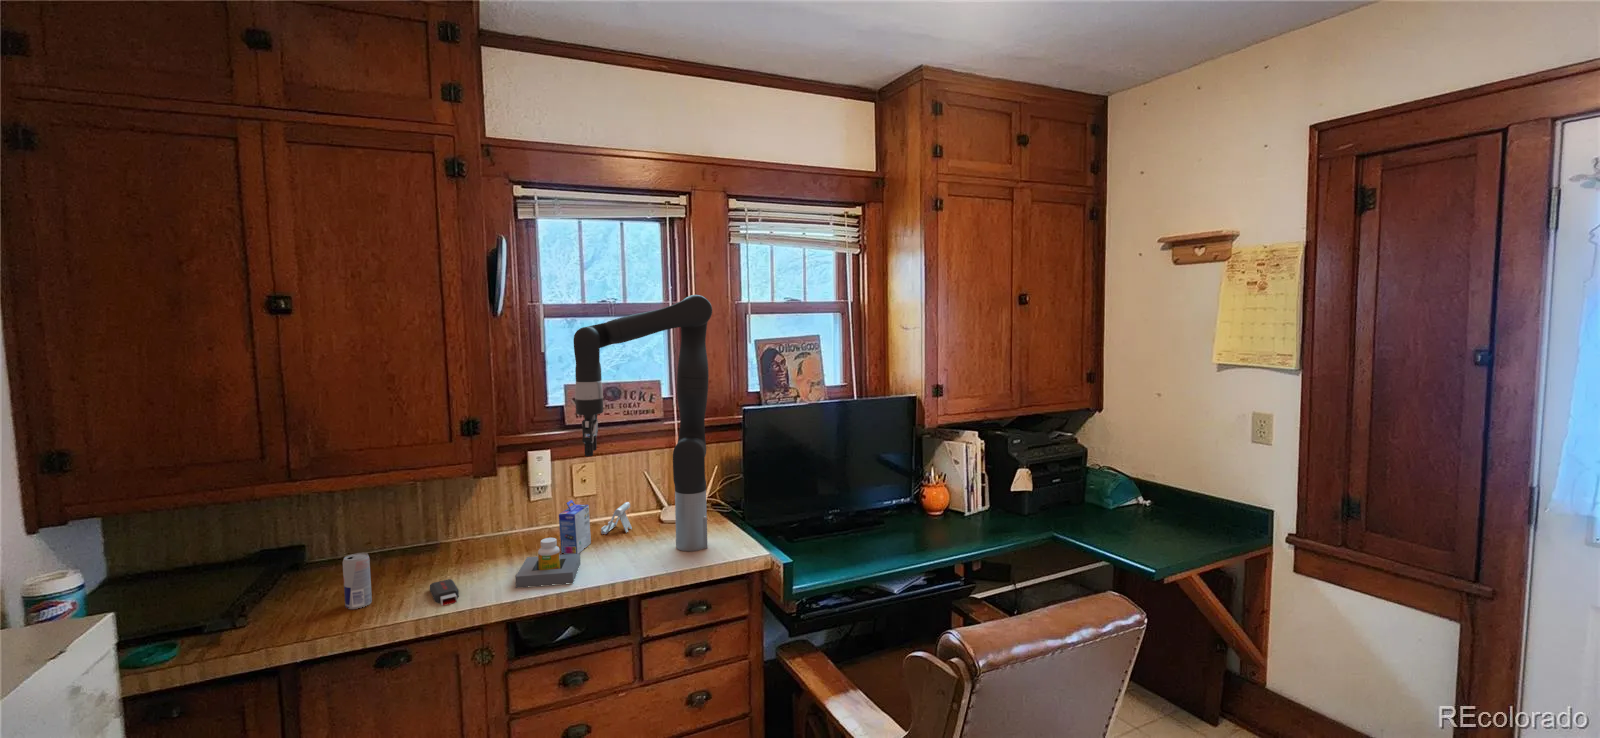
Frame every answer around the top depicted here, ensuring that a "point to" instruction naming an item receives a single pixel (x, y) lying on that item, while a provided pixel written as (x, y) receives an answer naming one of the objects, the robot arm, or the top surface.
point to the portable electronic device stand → (622, 515)
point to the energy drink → (357, 580)
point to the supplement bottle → (549, 554)
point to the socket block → (548, 572)
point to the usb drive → (444, 592)
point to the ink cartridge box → (574, 528)
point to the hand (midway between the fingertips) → (590, 453)
